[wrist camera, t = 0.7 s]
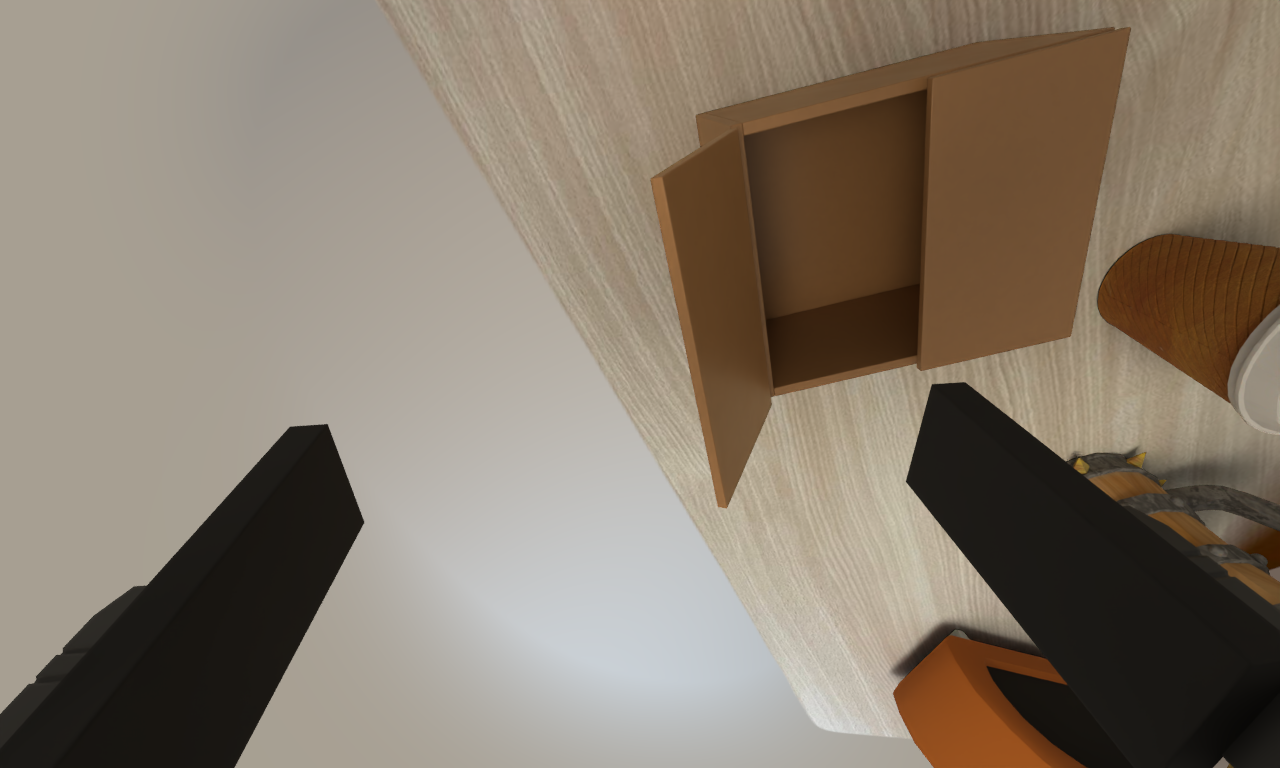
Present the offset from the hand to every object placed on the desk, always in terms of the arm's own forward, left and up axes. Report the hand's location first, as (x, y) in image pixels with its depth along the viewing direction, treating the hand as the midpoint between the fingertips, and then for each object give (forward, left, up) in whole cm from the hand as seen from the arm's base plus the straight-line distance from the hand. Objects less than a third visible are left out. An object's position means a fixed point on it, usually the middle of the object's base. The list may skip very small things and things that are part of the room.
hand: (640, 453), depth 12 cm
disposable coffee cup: (+12, +33, -22) cm, 42 cm away
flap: (+2, +4, -9) cm, 10 cm away
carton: (+2, +13, -22) cm, 26 cm away
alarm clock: (+53, +27, -22) cm, 64 cm away
